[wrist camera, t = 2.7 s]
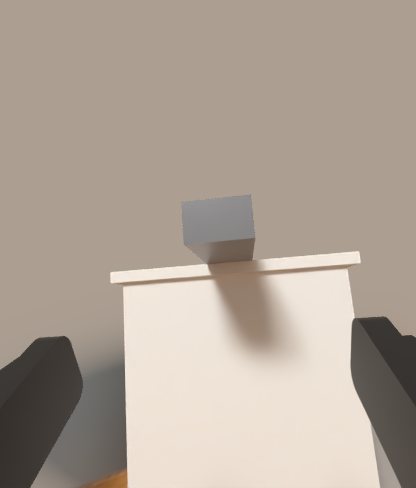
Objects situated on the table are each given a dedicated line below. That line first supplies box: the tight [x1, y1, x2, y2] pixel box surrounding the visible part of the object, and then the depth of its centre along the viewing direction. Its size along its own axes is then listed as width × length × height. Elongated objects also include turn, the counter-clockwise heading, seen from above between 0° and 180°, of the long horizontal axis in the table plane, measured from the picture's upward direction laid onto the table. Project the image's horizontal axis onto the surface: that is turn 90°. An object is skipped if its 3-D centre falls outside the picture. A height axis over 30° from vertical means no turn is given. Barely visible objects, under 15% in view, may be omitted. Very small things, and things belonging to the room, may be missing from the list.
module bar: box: [182, 195, 255, 264], centre depth 30 cm, size 4×24×6 cm, turn 173°
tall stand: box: [111, 252, 380, 488], centre depth 32 cm, size 22×14×32 cm, turn 83°
